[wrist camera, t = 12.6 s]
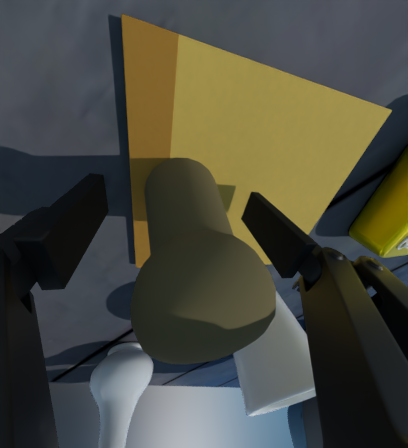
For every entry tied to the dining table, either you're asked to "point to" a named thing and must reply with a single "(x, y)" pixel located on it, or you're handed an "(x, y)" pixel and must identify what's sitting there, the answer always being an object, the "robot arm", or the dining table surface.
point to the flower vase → (119, 390)
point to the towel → (237, 128)
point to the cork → (196, 273)
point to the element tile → (386, 214)
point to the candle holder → (276, 365)
